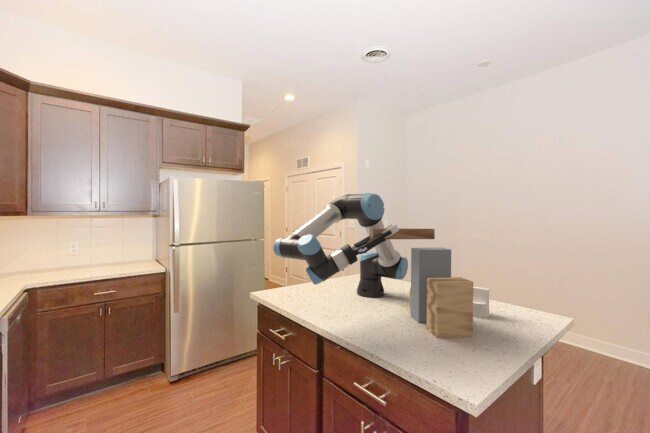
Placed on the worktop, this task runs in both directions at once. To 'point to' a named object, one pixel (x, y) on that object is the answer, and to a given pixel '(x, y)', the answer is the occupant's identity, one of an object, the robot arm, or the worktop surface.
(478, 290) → the cylinder with rectangular tab
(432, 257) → the slate-grey stand
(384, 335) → the worktop surface
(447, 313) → the oak block
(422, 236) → the walnut block
